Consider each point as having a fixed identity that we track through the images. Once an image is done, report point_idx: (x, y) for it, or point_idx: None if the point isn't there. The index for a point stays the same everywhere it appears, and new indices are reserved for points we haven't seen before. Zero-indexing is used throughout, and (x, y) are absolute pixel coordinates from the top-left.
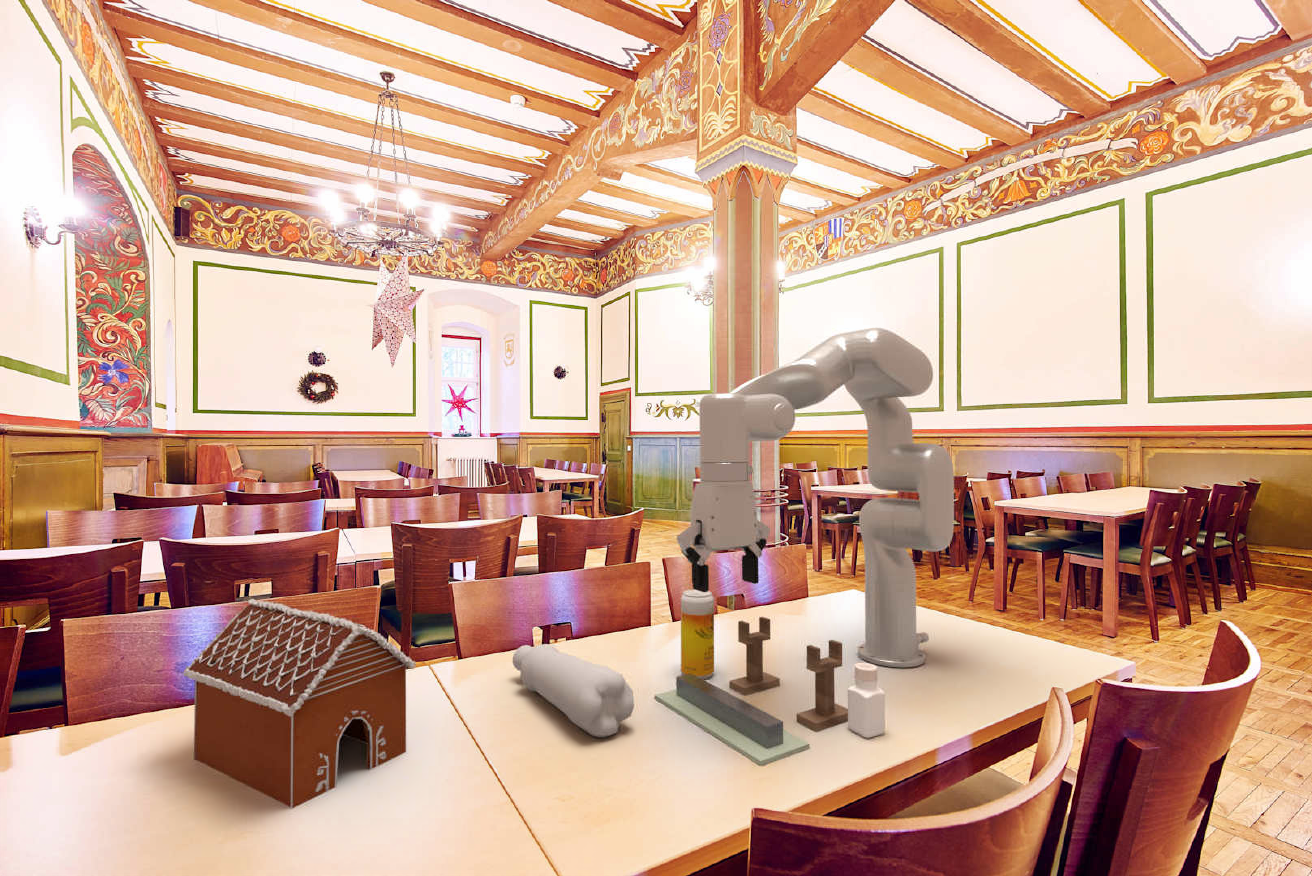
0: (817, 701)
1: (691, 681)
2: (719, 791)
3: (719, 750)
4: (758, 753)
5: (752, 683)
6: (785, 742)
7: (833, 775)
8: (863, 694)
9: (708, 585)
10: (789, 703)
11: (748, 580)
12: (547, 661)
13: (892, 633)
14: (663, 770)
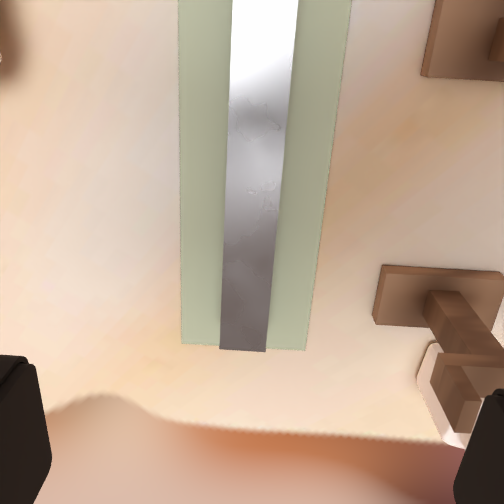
0: (436, 309)
1: (251, 23)
2: (73, 351)
3: (154, 261)
4: (197, 324)
5: (478, 62)
6: (271, 325)
7: (260, 410)
8: (446, 438)
9: (34, 497)
10: (463, 188)
11: (472, 451)
12: None
13: None
14: (16, 257)
